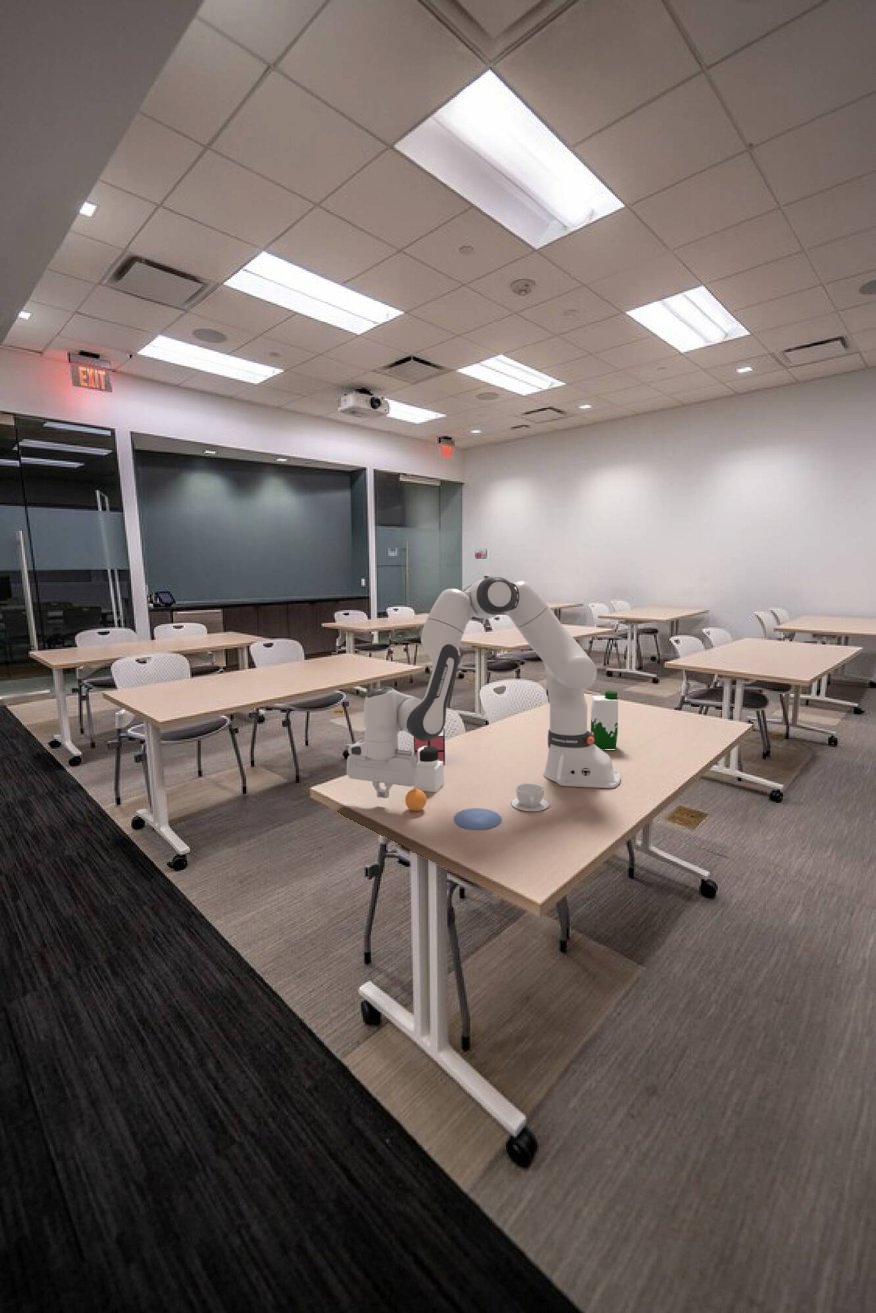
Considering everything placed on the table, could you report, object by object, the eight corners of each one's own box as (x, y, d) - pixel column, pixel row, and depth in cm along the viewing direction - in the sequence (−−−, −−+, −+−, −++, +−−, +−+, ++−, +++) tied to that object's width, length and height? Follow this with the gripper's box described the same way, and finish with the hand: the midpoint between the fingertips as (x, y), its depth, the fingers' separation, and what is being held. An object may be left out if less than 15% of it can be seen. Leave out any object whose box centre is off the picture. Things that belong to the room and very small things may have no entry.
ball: (430, 807, 146) (429, 787, 145) (421, 815, 141) (421, 795, 140) (410, 804, 148) (410, 784, 147) (402, 812, 143) (401, 792, 142)
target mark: (506, 812, 142) (506, 811, 142) (494, 832, 131) (494, 832, 130) (462, 806, 146) (462, 805, 146) (447, 825, 135) (447, 824, 135)
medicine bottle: (444, 783, 162) (443, 745, 161) (436, 792, 156) (435, 752, 154) (421, 781, 165) (420, 743, 163) (412, 790, 158) (411, 750, 156)
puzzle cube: (444, 765, 179) (444, 736, 177) (414, 766, 179) (413, 736, 177) (445, 755, 188) (444, 727, 187) (416, 756, 189) (415, 728, 187)
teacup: (509, 797, 152) (509, 781, 151) (545, 797, 151) (545, 781, 151) (513, 813, 142) (512, 796, 141) (551, 813, 141) (551, 795, 141)
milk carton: (618, 751, 188) (619, 695, 186) (591, 750, 190) (592, 694, 187) (615, 744, 197) (616, 689, 194) (589, 743, 199) (590, 689, 196)
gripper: (421, 748, 145) (422, 797, 147) (354, 740, 152) (356, 788, 154) (412, 755, 139) (413, 806, 141) (342, 747, 146) (344, 796, 148)
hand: (383, 797), depth 148 cm, fingers closed
